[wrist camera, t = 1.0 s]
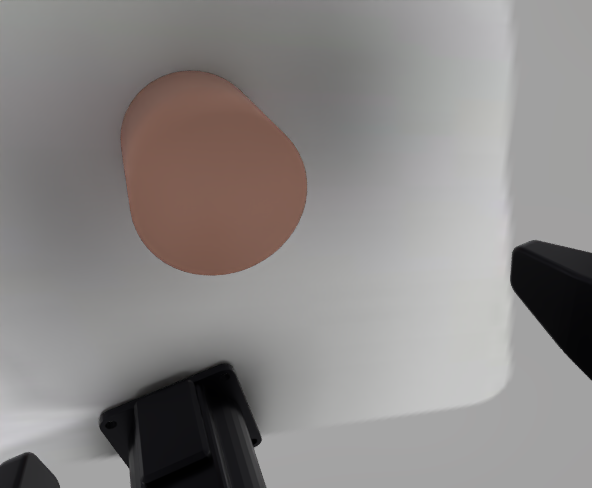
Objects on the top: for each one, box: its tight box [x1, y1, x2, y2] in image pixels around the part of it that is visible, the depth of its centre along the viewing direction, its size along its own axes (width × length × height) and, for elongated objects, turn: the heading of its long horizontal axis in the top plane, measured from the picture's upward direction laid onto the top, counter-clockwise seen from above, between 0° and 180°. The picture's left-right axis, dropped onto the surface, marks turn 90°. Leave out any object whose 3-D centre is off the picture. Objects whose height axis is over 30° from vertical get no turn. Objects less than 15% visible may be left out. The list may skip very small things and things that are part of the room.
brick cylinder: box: [121, 71, 307, 275], centre depth 16 cm, size 5×5×5 cm
